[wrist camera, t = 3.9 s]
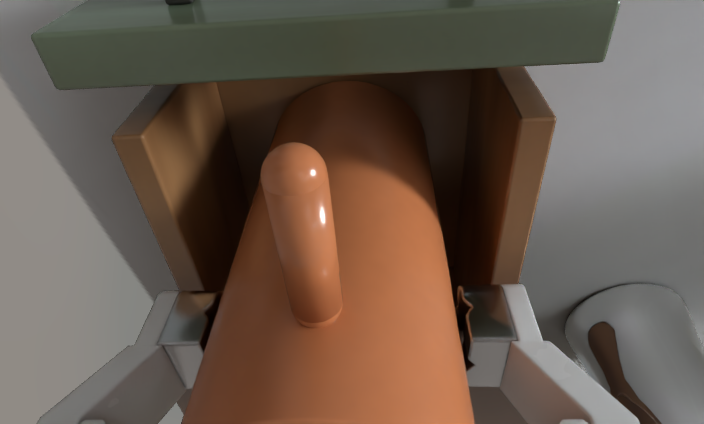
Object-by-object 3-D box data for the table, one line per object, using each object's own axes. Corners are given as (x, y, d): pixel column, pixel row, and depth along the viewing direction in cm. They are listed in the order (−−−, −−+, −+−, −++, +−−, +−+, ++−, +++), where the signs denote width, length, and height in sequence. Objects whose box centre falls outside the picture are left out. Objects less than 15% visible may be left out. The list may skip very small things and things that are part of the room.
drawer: (95, -227, 12) (-126, -269, 6) (558, -273, 11) (726, -362, 6) (244, 266, 23) (207, 396, 18) (479, 261, 22) (512, 394, 17)
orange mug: (424, 209, 19) (472, 556, 10) (286, 213, 19) (211, 551, 10) (433, -36, 13) (564, 255, 4) (238, -22, 14) (-19, 268, 5)
